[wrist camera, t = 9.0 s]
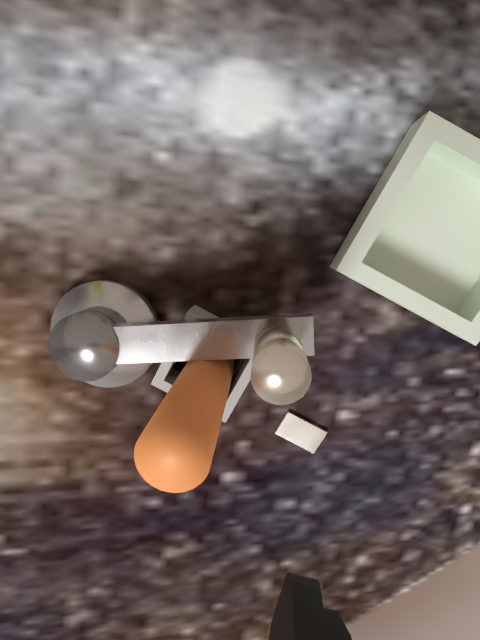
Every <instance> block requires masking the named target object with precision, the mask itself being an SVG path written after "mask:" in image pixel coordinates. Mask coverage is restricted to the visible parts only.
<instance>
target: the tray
mask: <svg viewBox="0 0 480 640" xmlns="http://www.w3.org/2000/svg"><path fill="white" fill-rule="evenodd" d="M329 267H330V268H332V269H334V270H336V271H338V272H340V273H341V274H343V275H345V276H347V277H349V278H351V279H353V280H354V281H356V282H358V283H360V284H362V285H364V286H365V287H367V288H369V289H371V290H373V291H375V292H377V293H378V294H380V295H382V296H384V297H386V298H388V299H389V300H391V301H393V302H395V303H397V304H399V305H401V306H402V307H404V308H406V309H408V310H410V311H412V312H413V313H415V314H417V315H419V316H421V317H423V318H425V319H426V320H428V321H430V322H432V323H434V324H436V325H437V326H439V327H441V328H443V329H445V330H447V331H449V332H450V333H452V334H454V335H456V336H458V337H460V338H462V339H464V340H466V341H468V342H470V343H471V344H473V345H475V346H476V345H477V344H478V342H479V341H480V139H479V138H477V137H475V136H473V135H472V134H470V133H468V132H466V131H464V130H463V129H461V128H459V127H457V126H456V125H454V124H452V123H450V122H449V121H447V120H445V119H443V118H442V117H440V116H438V115H436V114H434V113H433V112H431V111H428V112H427V113H426V114H425V115H423V116H422V117H421V118H419V119H418V120H417V121H416V122H414V123H413V124H412V125H411V126H410V128H409V129H408V131H407V133H406V135H405V136H404V138H403V140H402V141H401V143H400V145H399V147H398V148H397V150H396V152H395V154H394V155H393V157H392V159H391V160H390V162H389V164H388V166H387V167H386V169H385V171H384V172H383V174H382V176H381V178H380V179H379V181H378V183H377V185H376V186H375V188H374V190H373V191H372V193H371V195H370V197H369V198H368V200H367V202H366V204H365V205H364V207H363V209H362V210H361V212H360V214H359V216H358V217H357V219H356V221H355V223H354V224H353V226H352V228H351V229H350V231H349V233H348V235H347V236H346V238H345V240H344V241H343V243H342V245H341V247H340V248H339V250H338V252H337V254H336V255H335V257H334V259H333V260H332V262H331V264H330V266H329Z"/></svg>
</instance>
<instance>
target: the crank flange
mask: <svg viewBox="0 0 480 640" xmlns="http://www.w3.org/2000/svg"><path fill="white" fill-rule="evenodd" d="M94 306H103V307H108V308H111V309H113V310H115V311H117V312H118V313H119V314H121V315H122V316H123V317H124V318H125V320H126V321H127V323H134V322H152V321H159V318H158V315H157V313H156V311H155V309H154V308H153V306H152V304H151V303H150V302H149V300H148V299H147V298H146V297H145V296H144V295H143V294H142V293H140V292H139V291H138V290H136V289H135V288H133V287H132V286H130V285H127V284H125V283H122V282H119V281H114V280H97V281H92V282H88V283H84V284H81V285H79V286H77V287H75V288H73V289H71V290H70V291H69V292H67V293H66V294H65V295H64V296H63V297H62V298H61V300H60V301H59V302H58V304H57V306H56V308H55V310H54V312H53V315H52V320H51V330H50V331H52V329H53V328H54V326H55V325H56V324H57V323H58V322H59V321H60V320H61V319H63V318H64V317H67V316H69V315H72V314H74V313H77V312H79V311H82V310H84V309H87V308H90V307H94ZM151 365H152V363H136V364H119V365H117V366H116V367H115V368H114V369H113V370H112V371H110V372H109V373H108V374H107V375H106V376H104V377H103V378H101V379H98V380H95V381H89V382H86V383H89V384H91V385H95V386H99V387H118V386H123V385H126V384H129V383H131V382H133V381H135V380H136V379H137V378H139V377H140V376H141V375H142V374H143V373H145V371H146V370H147V369H148V368H149V367H150V366H151ZM275 434H277V435H279V436H281V437H283V438H285V439H286V440H288V441H290V442H292V443H294V444H296V445H298V446H300V447H302V448H304V449H306V450H308V451H310V452H312V453H313V454H314V452H315V451H316V449H317V448H318V446H319V445H320V443H321V442H322V440H323V438H324V437H325V435H326V434H327V431H325V430H324V429H322V428H320V427H318V426H316V425H314V424H312V423H310V422H308V421H306V420H304V419H303V418H301V417H299V416H297V415H295V414H293V413H291V412H289V411H287V413H286V415H285V416H284V418H283V420H282V421H281V423H280V425H279V426H278V428H277V430H276V431H275Z"/></svg>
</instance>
